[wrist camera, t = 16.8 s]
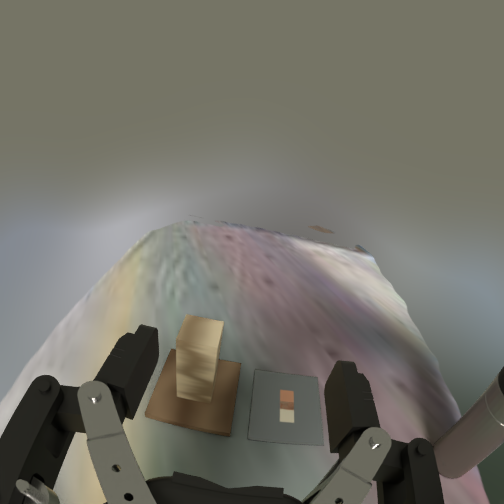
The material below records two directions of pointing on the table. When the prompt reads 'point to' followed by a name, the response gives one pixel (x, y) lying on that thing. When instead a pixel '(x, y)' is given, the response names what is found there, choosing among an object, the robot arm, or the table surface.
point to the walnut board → (194, 412)
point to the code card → (285, 409)
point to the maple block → (197, 357)
